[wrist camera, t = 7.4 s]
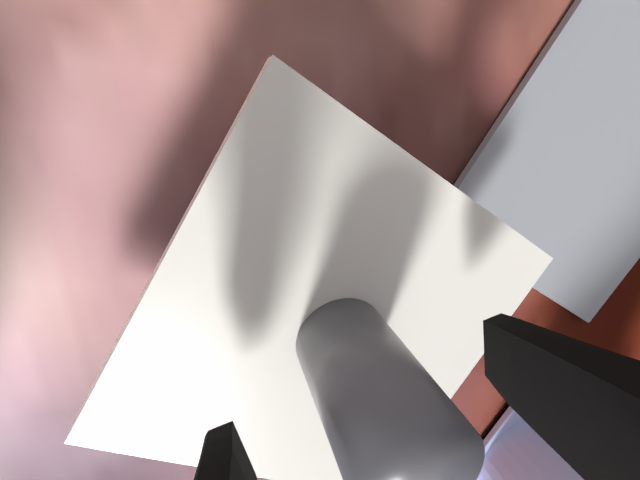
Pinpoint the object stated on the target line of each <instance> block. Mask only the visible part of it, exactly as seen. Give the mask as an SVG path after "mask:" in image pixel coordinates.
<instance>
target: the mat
mask: <svg viewBox="0 0 640 480" xmlns="http://www.w3.org/2000/svg"><path fill="white" fill-rule="evenodd" d="M453 186H455V187H456V188H457V189H459V190H460V191H461V192H463V193H464V194H466V195H467V196H468V197H470V198H471V199H472V200H474V201H475V202H477V203H478V204H479V205H481V206H482V207H483V208H485V209H486V210H488V211H489V212H490V213H492V214H493V215H494V216H496V217H497V218H499V219H500V220H501V221H503V222H504V223H505V224H507V225H508V226H510V227H511V228H512V229H514V230H515V231H516V232H518V233H519V234H521V235H522V236H523V237H525V238H526V239H527V240H529V241H530V242H532V243H533V244H534V245H536V246H537V247H538V248H540V249H541V250H543V251H544V252H545V253H547V254H548V255H549V256H551V257H552V258H553V260H552V261H551V262H550V264H549V265H548V266H547V268H546V269H545V271H544V272H543V273H542V275H541V276H540V277H539V279H538V280H537V281H536V283H535V284H534V286H533V287H532V288H534V289H536V290H537V291H539V292H540V293H542V294H543V295H545V296H546V297H548V298H550V299H551V300H553V301H554V302H556V303H557V304H559V305H561V306H562V307H564V308H565V309H567V310H568V311H570V312H572V313H573V314H575V315H576V316H578V317H579V318H581V319H583V320H584V321H586V322H588V323H590V321H591V320H592V319H593V317H594V316H595V315H596V313H597V312H598V311H599V310H600V308H601V307H602V306H603V304H604V303H605V302H606V301H607V299H608V298H609V297H610V295H611V294H612V293H613V291H614V290H615V289H616V288H617V286H618V285H619V284H620V282H621V281H622V280H623V279H624V277H625V276H626V275H627V273H628V272H629V271H630V269H631V268H632V267H633V266H634V264H635V263H636V262H637V260H638V259H639V258H640V0H575V1H574V2H573V4H572V5H571V7H570V8H569V10H568V11H567V13H566V14H565V16H564V18H563V19H562V21H561V22H560V24H559V25H558V27H557V28H556V30H555V31H554V33H553V34H552V36H551V37H550V39H549V40H548V42H547V43H546V45H545V46H544V48H543V50H542V51H541V53H540V54H539V56H538V57H537V59H536V60H535V62H534V63H533V65H532V66H531V68H530V69H529V71H528V72H527V74H526V75H525V77H524V78H523V80H522V81H521V83H520V85H519V86H518V88H517V89H516V91H515V92H514V94H513V95H512V97H511V98H510V100H509V101H508V103H507V104H506V106H505V107H504V109H503V110H502V112H501V113H500V115H499V117H498V118H497V120H496V121H495V123H494V124H493V126H492V127H491V129H490V130H489V132H488V133H487V135H486V136H485V138H484V139H483V141H482V142H481V144H480V145H479V147H478V148H477V150H476V152H475V153H474V155H473V156H472V158H471V159H470V161H469V162H468V164H467V165H466V167H465V168H464V170H463V171H462V173H461V174H460V176H459V177H458V179H457V180H456V182H455V184H454V185H453Z"/></svg>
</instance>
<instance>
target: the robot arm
mask: <svg viewBox="0 0 640 480" xmlns="http://www.w3.org/2000/svg"><path fill="white" fill-rule="evenodd" d="M483 335H484V360H485V376H486V377H487V378H488V379H489V381H490V382H491V383H492V385H493V386H494V387H495V388H496V390H497V391H498V392H499V393H500V395H501V396H502V397H503V398H504V399H505V401H506V402H507V403H508V404H509V405H510V406H509V407H508V409H507V410H506V411H505V412H504V414H503V415H502V416H501V418H500V419H499V420H498V422H497V423H496V424H495V426H494V427H493V428H492V429H491V431H490V432H489V433H488V435H487V436H486V437H485V439H484V440H483V443H484V447H485V458H484V463H483V466H482V469H481V472H480V474H479V476H478V478H477V480H640V361H639V360H636V359H633V358H630V357H626V356H623V355H620V354H617V353H614V352H611V351H608V350H605V349H602V348H599V347H596V346H593V345H590V344H587V343H584V342H581V341H579V340H576V339H573V338H570V337H567V336H564V335H562V334H559V333H556V332H553V331H551V330H548V329H545V328H542V327H540V326H537V325H534V324H531V323H529V322H526V321H523V320H520V319H517V318H514V317H512V316H508V315H505V314H502V313H501V314H498V315H496V316H493V317H491V318H488V319H486V320H483ZM194 480H257V477H256V473H255V471H254V469H253V466H252V464H251V462H250V459H249V457H248V455H247V453H246V450H245V448H244V446H243V443H242V441H241V439H240V437H239V434H238V432H237V430H236V427H235V425H234V423H233V421H231V422H228V423H226V424H223V425H221V426H218V427H216V428H213V429H211V430H208V432H207V433H206V435H205V438H204V443H203V447H202V451H201V455H200V459H199V463H198V466H197V470H196V474H195V477H194Z"/></svg>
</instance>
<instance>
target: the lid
mask: <svg viewBox="0 0 640 480" xmlns="http://www.w3.org/2000/svg"><path fill="white" fill-rule="evenodd" d="M552 260H553V258H552V257H551V256H549V255H548V254H547V253H545V252H544V251H543V250H541V249H540V248H538V247H537V246H536V245H534V244H533V243H532V242H530V241H529V240H527V239H526V238H525V237H523V236H522V235H521V234H519V233H518V232H516V231H515V230H514V229H512V228H511V227H510V226H508V225H507V224H505V223H504V222H503V221H501V220H500V219H499V218H497V217H496V216H494V215H493V214H492V213H490V212H489V211H488V210H486V209H485V208H483V207H482V206H481V205H479V204H478V203H477V202H475V201H474V200H472V199H471V198H470V197H468V196H467V195H466V194H464V193H463V192H461V191H460V190H459V189H457V188H456V187H455V186H453V185H452V184H450V183H449V182H448V181H446V180H445V179H444V178H442V177H441V176H439V175H438V174H437V173H435V172H434V171H433V170H431V169H430V168H428V167H427V166H426V165H424V164H423V163H422V162H420V161H419V160H417V159H416V158H415V157H413V156H412V155H411V154H409V153H408V152H406V151H405V150H404V149H402V148H401V147H400V146H398V145H397V144H395V143H394V142H393V141H391V140H390V139H389V138H387V137H386V136H384V135H383V134H382V133H380V132H379V131H378V130H376V129H375V128H373V127H372V126H371V125H369V124H368V123H367V122H365V121H364V120H362V119H361V118H360V117H358V116H357V115H356V114H354V113H353V112H351V111H350V110H349V109H347V108H346V107H345V106H343V105H342V104H340V103H339V102H338V101H336V100H335V99H334V98H332V97H331V96H329V95H328V94H327V93H325V92H324V91H322V90H321V89H320V88H318V87H317V86H316V85H314V84H313V83H311V82H310V81H309V80H307V79H306V78H305V77H303V76H302V75H300V74H299V73H298V72H296V71H295V70H294V69H292V68H291V67H289V66H288V65H287V64H285V63H284V62H283V61H281V60H280V59H278V58H277V57H276V56H274V55H272V56H270V57H269V58H268V59H267V60H266V62H265V64H264V66H263V68H262V70H261V72H260V74H259V75H258V77H257V79H256V81H255V83H254V85H253V87H252V88H251V90H250V92H249V94H248V96H247V98H246V100H245V102H244V103H243V105H242V107H241V109H240V111H239V113H238V115H237V116H236V118H235V120H234V122H233V124H232V126H231V128H230V130H229V131H228V133H227V135H226V137H225V139H224V141H223V143H222V144H221V146H220V148H219V150H218V152H217V154H216V156H215V158H214V159H213V161H212V163H211V165H210V167H209V169H208V171H207V172H206V174H205V176H204V178H203V180H202V182H201V184H200V185H199V187H198V189H197V191H196V193H195V195H194V197H193V199H192V200H191V202H190V204H189V206H188V208H187V210H186V212H185V213H184V215H183V217H182V219H181V221H180V223H179V225H178V227H177V228H176V230H175V232H174V234H173V236H172V238H171V240H170V241H169V243H168V245H167V247H166V249H165V251H164V253H163V255H162V256H161V258H160V260H159V262H158V264H157V266H156V268H155V269H154V271H153V273H152V275H151V277H150V279H149V281H148V283H147V284H146V286H145V288H144V290H143V292H142V294H141V296H140V297H139V299H138V301H137V303H136V305H135V307H134V309H133V310H132V312H131V314H130V316H129V318H128V320H127V322H126V324H125V325H124V327H123V329H122V331H121V333H120V335H119V337H118V338H117V340H116V342H115V344H114V346H113V348H112V350H111V352H110V353H109V355H108V357H107V359H106V361H105V363H104V365H103V366H102V368H101V370H100V372H99V374H98V376H97V378H96V380H95V381H94V383H93V385H92V387H91V389H90V391H89V393H88V394H87V396H86V398H85V400H84V402H83V404H82V406H81V408H80V409H79V411H78V413H77V415H76V417H75V419H74V421H73V423H72V425H71V428H70V430H69V432H68V435H67V437H66V440H65V442H64V444H68V445H74V446H80V447H85V448H91V449H97V450H103V451H109V452H114V453H120V454H126V455H132V456H138V457H143V458H149V459H155V460H161V461H167V462H172V463H178V464H184V465H190V466H196V467H197V466H198V463H199V459H200V455H201V451H202V447H203V443H204V438H205V435H206V433H207V432H208V430H211V429H213V428H216V427H218V426H221V425H223V424H226V423H228V422H231V421H233V423H234V425H235V427H236V430H237V432H238V434H239V437H240V439H241V441H242V443H243V446H244V448H245V450H246V453H247V455H248V457H249V459H250V462H251V464H252V466H253V469H254V471H255V473H256V477H259V478H265V479H271V480H477V478H478V476H479V474H480V472H481V469H482V466H483V463H484V458H485V447H484V443H483V440H482V438H481V436H480V434H479V433H478V432H477V431H476V430H475V428H474V427H473V426H472V425H471V424H470V422H469V421H468V420H467V419H466V418H465V416H464V415H463V414H462V413H461V412H460V410H459V409H458V408H457V407H456V406H455V404H454V403H453V402H452V401H451V398H452V396H453V395H454V394H455V392H456V391H457V389H458V388H459V387H460V385H461V384H462V383H463V381H464V380H465V379H466V377H467V376H468V374H469V373H470V372H471V370H472V369H473V368H474V366H475V365H476V363H477V362H478V361H479V359H480V358H481V357H482V355H483V354H484V335H483V320H486V319H488V318H491V317H493V316H496V315H498V314H501V313H502V314H505V315H508V316H512V314H513V313H514V312H515V310H516V309H517V307H518V306H519V305H520V303H521V302H522V301H523V299H524V298H525V296H526V295H527V294H528V292H529V291H530V290H531V288H532V287H533V286H534V284H535V283H536V281H537V280H538V279H539V277H540V276H541V275H542V273H543V272H544V271H545V269H546V268H547V266H548V265H549V264H550V262H551V261H552Z"/></svg>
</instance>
